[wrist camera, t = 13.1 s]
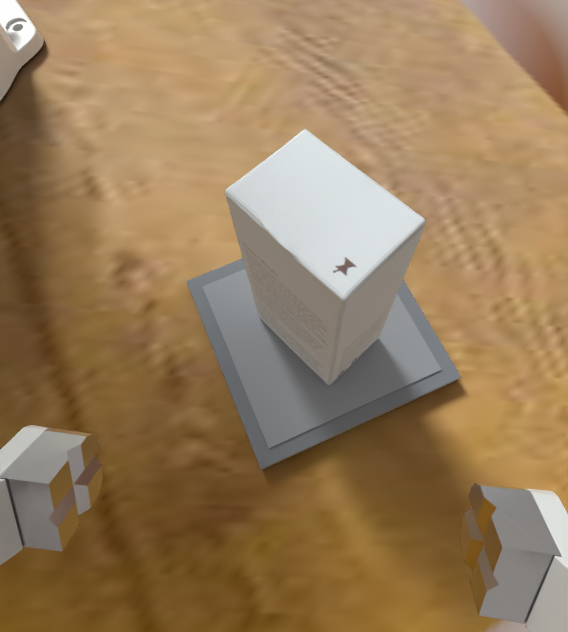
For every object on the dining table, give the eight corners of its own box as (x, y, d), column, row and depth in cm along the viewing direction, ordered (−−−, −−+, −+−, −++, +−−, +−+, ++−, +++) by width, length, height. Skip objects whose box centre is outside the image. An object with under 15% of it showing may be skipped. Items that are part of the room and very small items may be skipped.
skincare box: (381, 337, 26) (434, 222, 15) (328, 388, 25) (344, 306, 14) (306, 269, 28) (305, 122, 17) (255, 315, 27) (217, 191, 16)
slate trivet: (189, 286, 29) (185, 280, 28) (360, 216, 30) (361, 208, 30) (262, 470, 25) (260, 469, 24) (456, 380, 26) (461, 376, 25)
